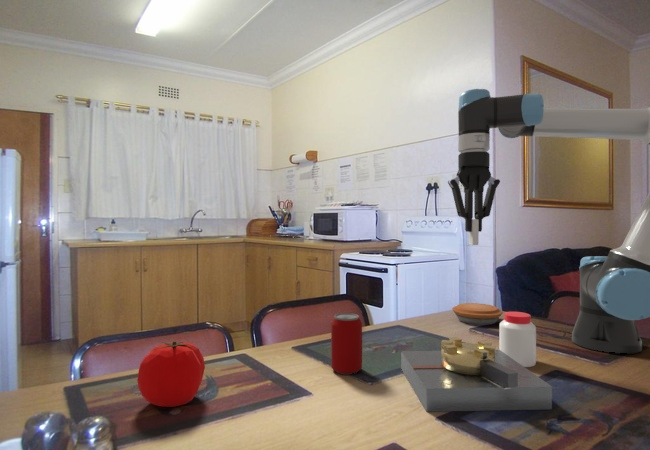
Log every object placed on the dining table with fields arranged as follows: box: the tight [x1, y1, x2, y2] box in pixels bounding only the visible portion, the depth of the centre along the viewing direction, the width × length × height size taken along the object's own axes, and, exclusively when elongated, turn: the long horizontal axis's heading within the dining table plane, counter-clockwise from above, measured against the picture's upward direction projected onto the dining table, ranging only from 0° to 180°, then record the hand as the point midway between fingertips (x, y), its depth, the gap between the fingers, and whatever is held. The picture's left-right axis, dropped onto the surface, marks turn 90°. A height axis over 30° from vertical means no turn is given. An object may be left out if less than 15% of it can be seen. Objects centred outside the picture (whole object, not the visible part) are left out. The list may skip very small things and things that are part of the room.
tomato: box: [136, 340, 206, 408], centre depth 76 cm, size 12×12×11 cm
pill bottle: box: [498, 311, 537, 368], centre depth 96 cm, size 8×8×11 cm
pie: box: [451, 302, 504, 326], centre depth 135 cm, size 16×16×5 cm
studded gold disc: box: [440, 336, 518, 388], centre depth 78 cm, size 17×10×4 cm, turn 18°
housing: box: [400, 349, 553, 413], centre depth 81 cm, size 22×21×4 cm
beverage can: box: [330, 312, 363, 375], centre depth 91 cm, size 7×7×12 cm
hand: (473, 244), depth 107 cm, fingers closed
